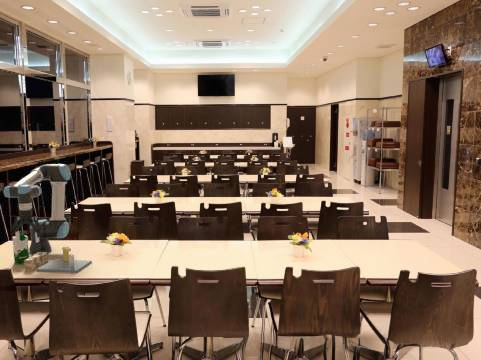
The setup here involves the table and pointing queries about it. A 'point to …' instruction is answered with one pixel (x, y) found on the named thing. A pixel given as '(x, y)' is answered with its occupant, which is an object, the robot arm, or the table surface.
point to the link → (36, 261)
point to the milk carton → (20, 249)
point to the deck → (65, 263)
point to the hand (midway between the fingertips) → (27, 241)
